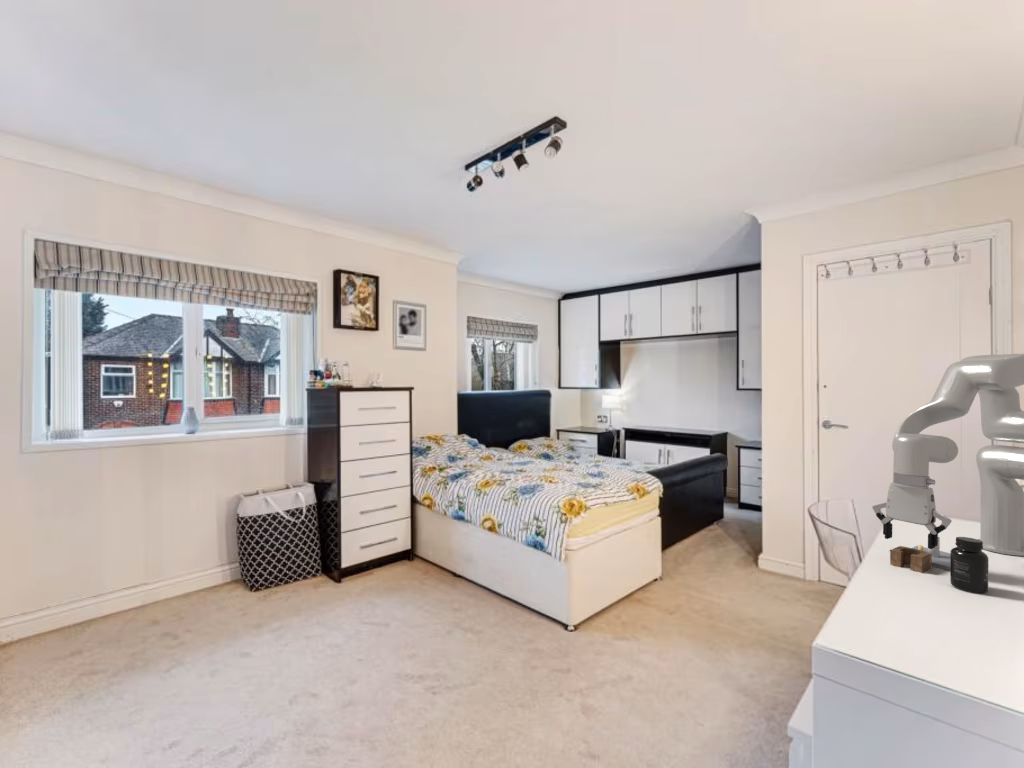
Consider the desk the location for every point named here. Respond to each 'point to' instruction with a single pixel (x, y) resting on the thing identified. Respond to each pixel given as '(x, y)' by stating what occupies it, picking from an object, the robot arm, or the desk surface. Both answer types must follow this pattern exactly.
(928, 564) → the wooden arch block
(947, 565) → the post base
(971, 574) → the supplement bottle
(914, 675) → the desk surface
